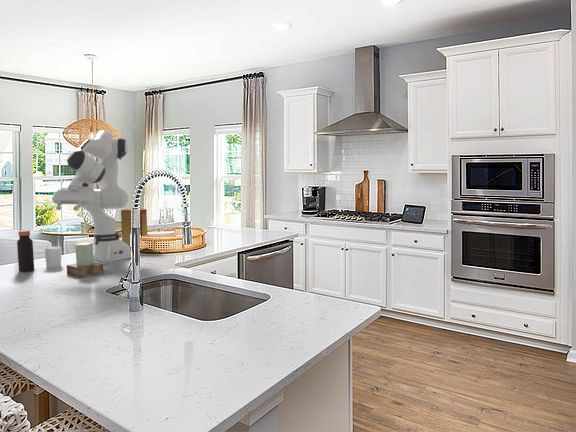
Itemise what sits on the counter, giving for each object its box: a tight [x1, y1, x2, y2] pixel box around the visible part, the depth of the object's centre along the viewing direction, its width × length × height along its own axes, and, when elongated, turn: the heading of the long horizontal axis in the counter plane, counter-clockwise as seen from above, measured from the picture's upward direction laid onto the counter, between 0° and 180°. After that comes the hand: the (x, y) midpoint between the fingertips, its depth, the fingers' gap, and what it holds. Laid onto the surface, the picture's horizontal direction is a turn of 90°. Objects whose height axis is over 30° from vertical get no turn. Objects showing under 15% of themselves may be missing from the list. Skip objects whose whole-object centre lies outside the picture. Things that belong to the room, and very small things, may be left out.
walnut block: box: [65, 261, 105, 279], centre depth 226 cm, size 12×12×5 cm
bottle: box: [16, 229, 35, 273], centre depth 233 cm, size 7×7×20 cm
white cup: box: [43, 245, 62, 269], centre depth 243 cm, size 8×8×10 cm
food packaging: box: [120, 208, 148, 251], centre depth 294 cm, size 13×9×25 cm
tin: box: [74, 242, 95, 266], centre depth 226 cm, size 6×6×10 cm
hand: (66, 209), depth 229 cm, fingers open, 8 cm apart
